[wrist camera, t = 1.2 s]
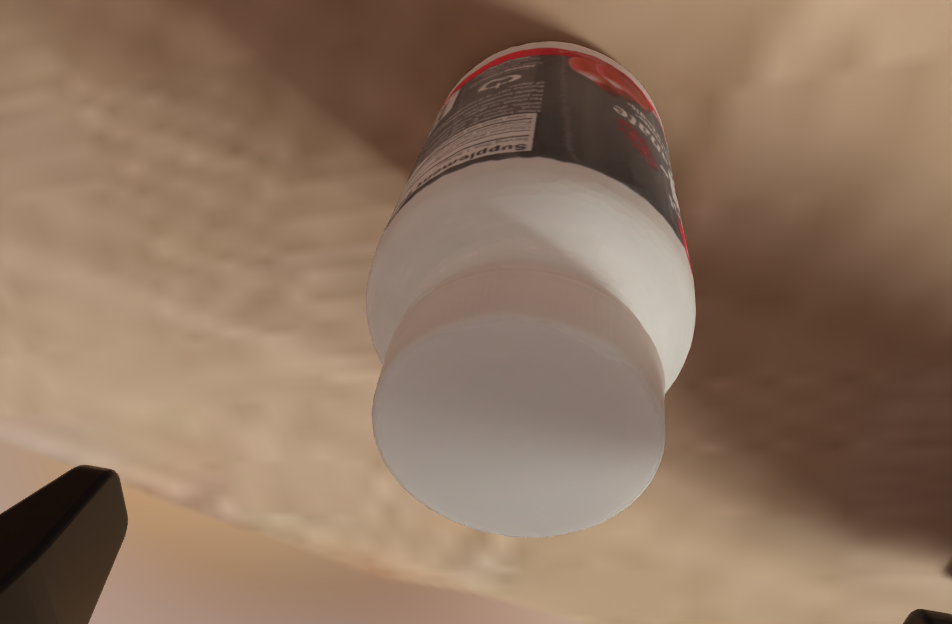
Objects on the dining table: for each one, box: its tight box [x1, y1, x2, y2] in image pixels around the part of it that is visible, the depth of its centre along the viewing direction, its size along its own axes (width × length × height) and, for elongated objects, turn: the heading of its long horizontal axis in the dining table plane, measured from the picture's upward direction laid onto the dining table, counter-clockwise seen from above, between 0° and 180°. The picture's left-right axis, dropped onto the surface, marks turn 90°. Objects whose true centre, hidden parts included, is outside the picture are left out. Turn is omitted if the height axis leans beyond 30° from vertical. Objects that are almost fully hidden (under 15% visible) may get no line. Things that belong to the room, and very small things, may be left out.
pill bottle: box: [366, 41, 696, 537], centre depth 15 cm, size 5×5×10 cm
